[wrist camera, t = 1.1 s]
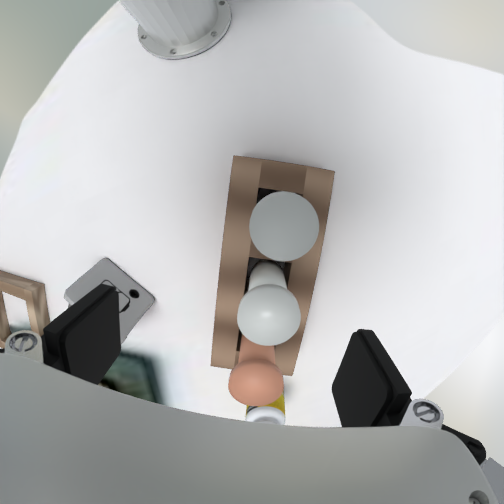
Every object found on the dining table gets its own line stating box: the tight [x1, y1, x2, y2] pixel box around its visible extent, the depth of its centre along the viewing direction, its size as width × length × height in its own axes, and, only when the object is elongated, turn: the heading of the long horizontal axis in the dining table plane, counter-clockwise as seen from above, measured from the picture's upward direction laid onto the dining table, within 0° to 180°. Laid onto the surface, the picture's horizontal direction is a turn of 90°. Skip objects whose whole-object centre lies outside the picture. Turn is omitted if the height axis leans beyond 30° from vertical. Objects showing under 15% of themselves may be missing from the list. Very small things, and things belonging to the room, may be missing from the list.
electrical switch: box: [64, 258, 154, 344], centre depth 33 cm, size 9×5×9 cm, turn 51°
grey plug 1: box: [249, 191, 319, 261], centre depth 25 cm, size 5×5×10 cm
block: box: [211, 156, 335, 376], centre depth 33 cm, size 24×10×6 cm, turn 173°
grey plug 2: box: [237, 260, 301, 346], centre depth 26 cm, size 5×5×10 cm
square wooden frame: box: [0, 270, 50, 348], centre depth 38 cm, size 16×16×4 cm
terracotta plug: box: [228, 334, 284, 406], centre depth 28 cm, size 5×5×10 cm
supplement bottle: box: [246, 391, 285, 425], centre depth 36 cm, size 5×5×10 cm
